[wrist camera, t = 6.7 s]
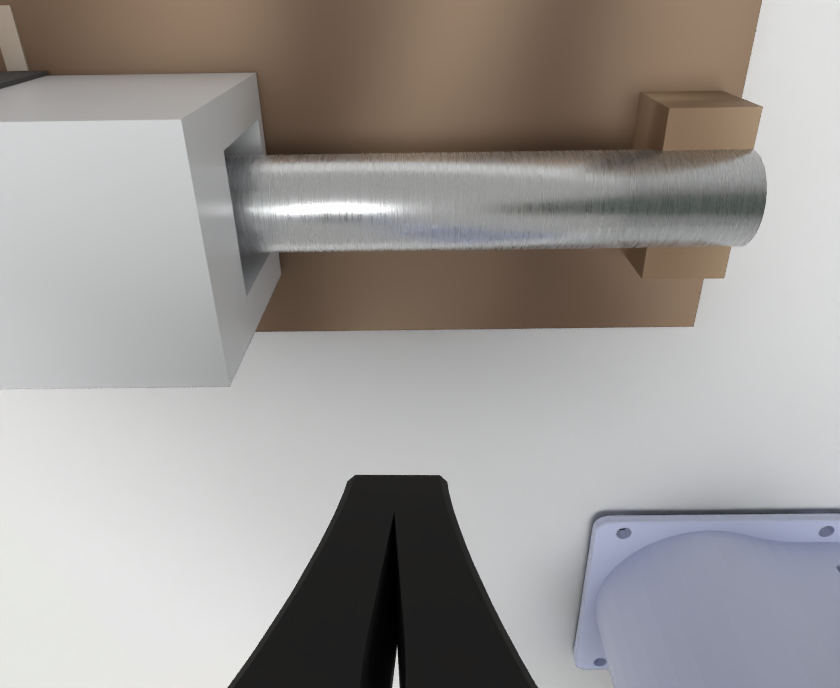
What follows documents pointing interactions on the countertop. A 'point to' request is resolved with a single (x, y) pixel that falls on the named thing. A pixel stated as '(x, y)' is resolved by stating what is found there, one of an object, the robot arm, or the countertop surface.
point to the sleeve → (126, 231)
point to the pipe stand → (445, 127)
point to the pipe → (496, 200)
